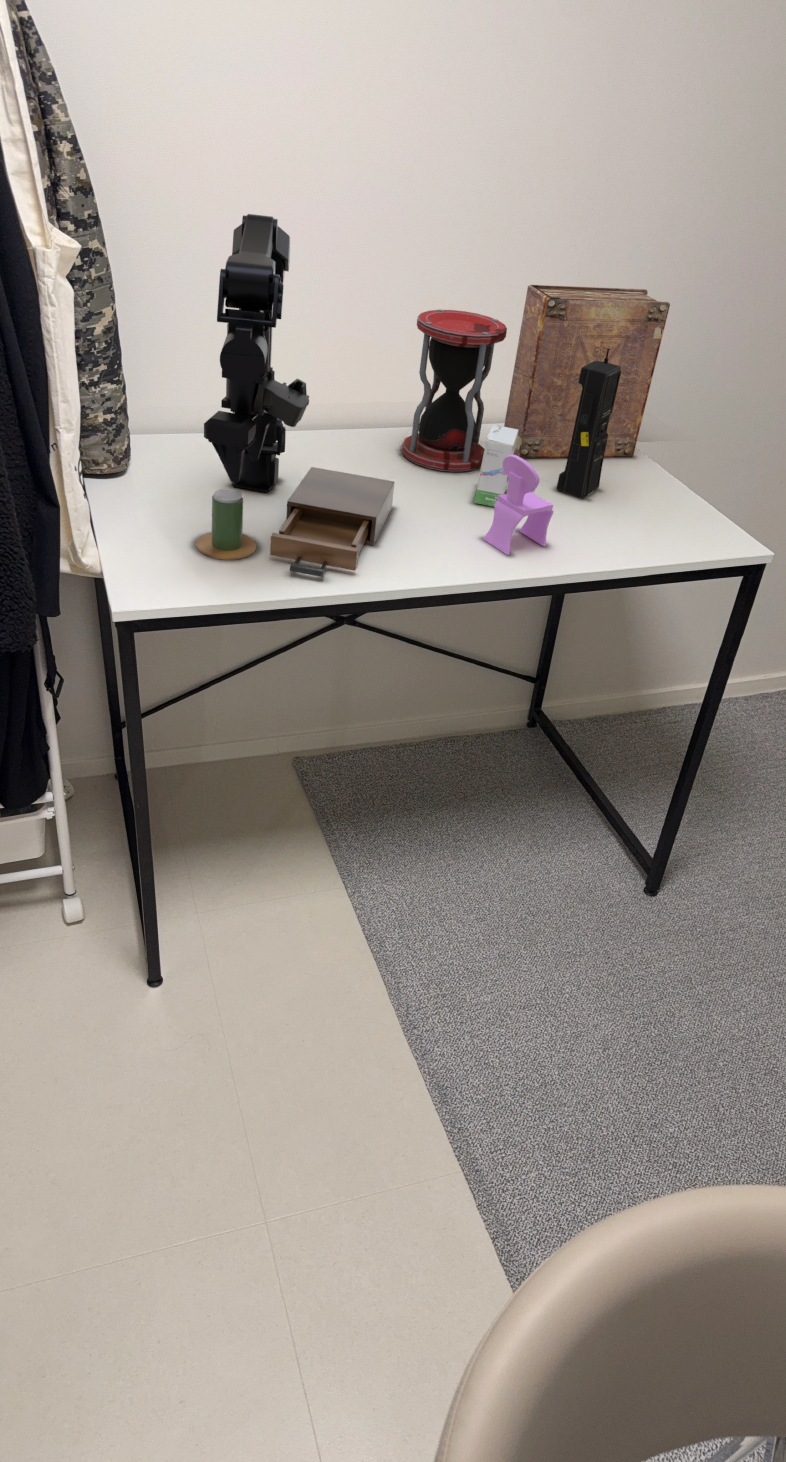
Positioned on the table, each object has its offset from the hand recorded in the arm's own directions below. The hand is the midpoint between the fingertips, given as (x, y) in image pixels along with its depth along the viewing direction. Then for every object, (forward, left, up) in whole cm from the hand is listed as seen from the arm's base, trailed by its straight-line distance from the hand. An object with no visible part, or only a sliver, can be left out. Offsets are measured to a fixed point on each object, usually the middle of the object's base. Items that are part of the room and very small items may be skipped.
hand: (244, 470), depth 151 cm
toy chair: (+40, +21, -13) cm, 47 cm away
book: (+46, +70, -13) cm, 85 cm away
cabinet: (+11, +18, -13) cm, 25 cm away
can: (-3, +1, -13) cm, 13 cm away
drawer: (+11, +5, -12) cm, 17 cm away
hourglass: (+23, +54, -13) cm, 60 cm away
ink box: (+34, +38, -13) cm, 53 cm away
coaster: (-3, +1, -13) cm, 14 cm away
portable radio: (+49, +48, -13) cm, 70 cm away
